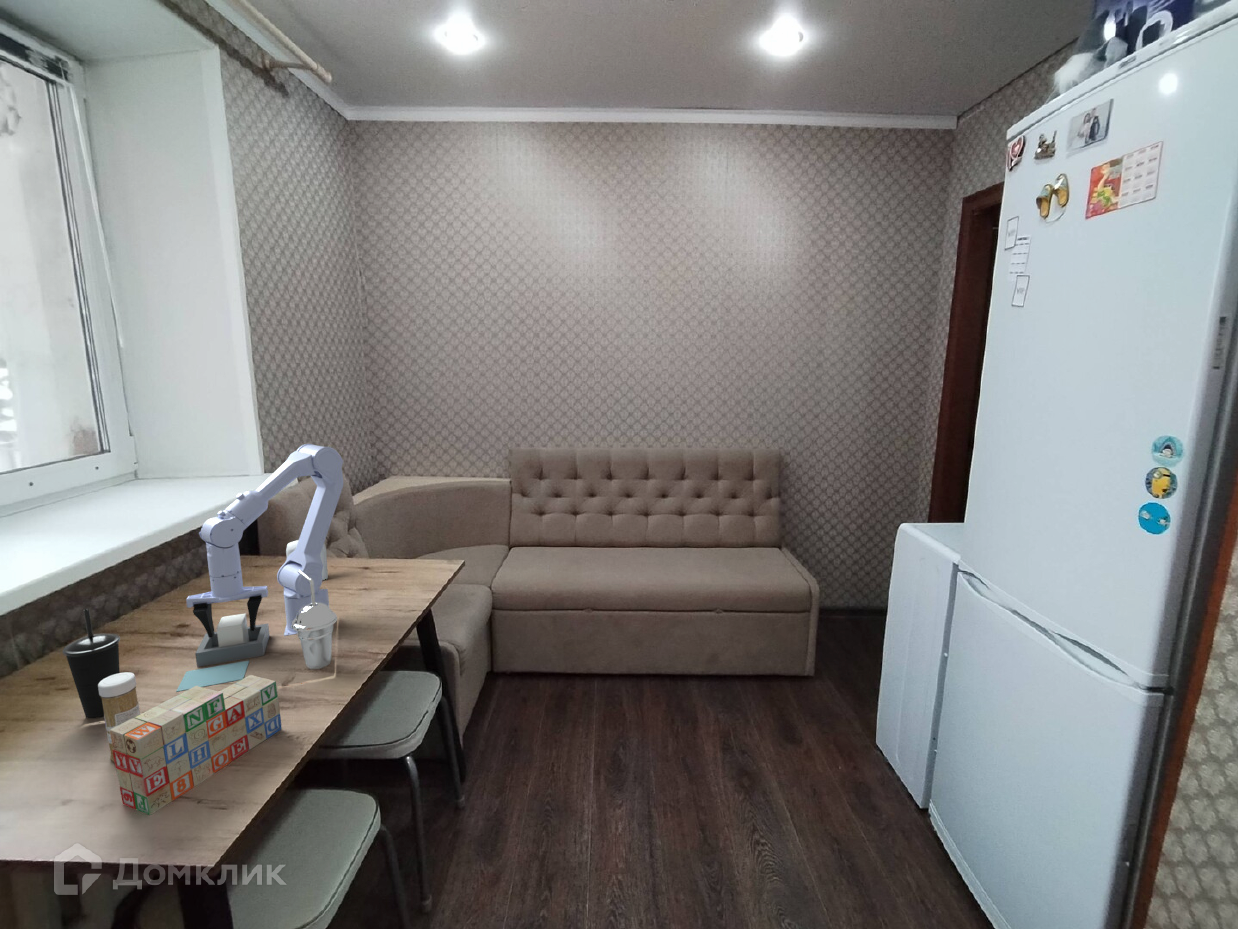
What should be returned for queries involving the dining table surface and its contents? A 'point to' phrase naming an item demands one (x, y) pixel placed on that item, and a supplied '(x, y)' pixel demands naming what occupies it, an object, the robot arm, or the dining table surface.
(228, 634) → the block
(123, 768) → the stack of blocks
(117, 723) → the sprinkles bottle
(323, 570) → the photo printer
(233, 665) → the mat
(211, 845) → the dining table surface
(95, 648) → the drinking cup
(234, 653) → the case
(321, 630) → the cup with straw
